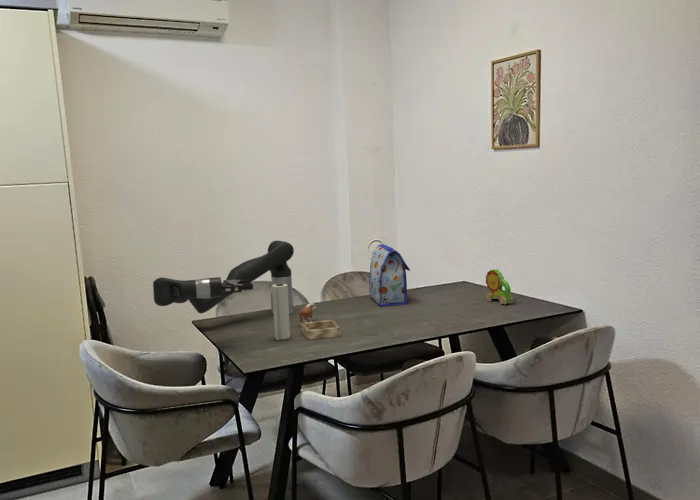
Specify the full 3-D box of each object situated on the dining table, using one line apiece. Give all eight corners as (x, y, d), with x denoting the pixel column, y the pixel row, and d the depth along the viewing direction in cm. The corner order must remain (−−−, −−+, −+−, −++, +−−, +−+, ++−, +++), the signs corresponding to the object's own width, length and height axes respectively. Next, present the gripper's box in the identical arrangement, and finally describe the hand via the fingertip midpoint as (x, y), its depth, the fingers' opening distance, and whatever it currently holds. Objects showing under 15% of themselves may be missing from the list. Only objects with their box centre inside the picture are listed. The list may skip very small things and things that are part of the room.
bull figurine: (318, 319, 271) (317, 301, 269) (306, 327, 258) (305, 308, 257) (309, 319, 272) (308, 301, 271) (296, 327, 259) (295, 308, 258)
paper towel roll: (284, 334, 249) (281, 282, 246) (293, 337, 244) (290, 284, 241) (269, 338, 244) (266, 285, 241) (278, 341, 239) (275, 287, 236)
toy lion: (513, 304, 283) (513, 271, 281) (504, 306, 281) (504, 273, 279) (492, 298, 298) (491, 267, 296) (482, 299, 296) (482, 268, 293)
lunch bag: (413, 304, 292) (411, 248, 288) (379, 307, 288) (377, 250, 284) (398, 294, 314) (397, 242, 310) (367, 297, 310) (365, 244, 306)
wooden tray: (307, 340, 240) (307, 331, 240) (301, 331, 252) (301, 323, 252) (340, 336, 243) (340, 327, 243) (332, 328, 256) (332, 319, 255)
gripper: (208, 294, 242) (250, 290, 245) (209, 301, 228) (254, 297, 232) (207, 275, 241) (249, 271, 244) (208, 281, 227) (253, 277, 231)
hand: (251, 284), depth 238 cm, fingers open, 8 cm apart
